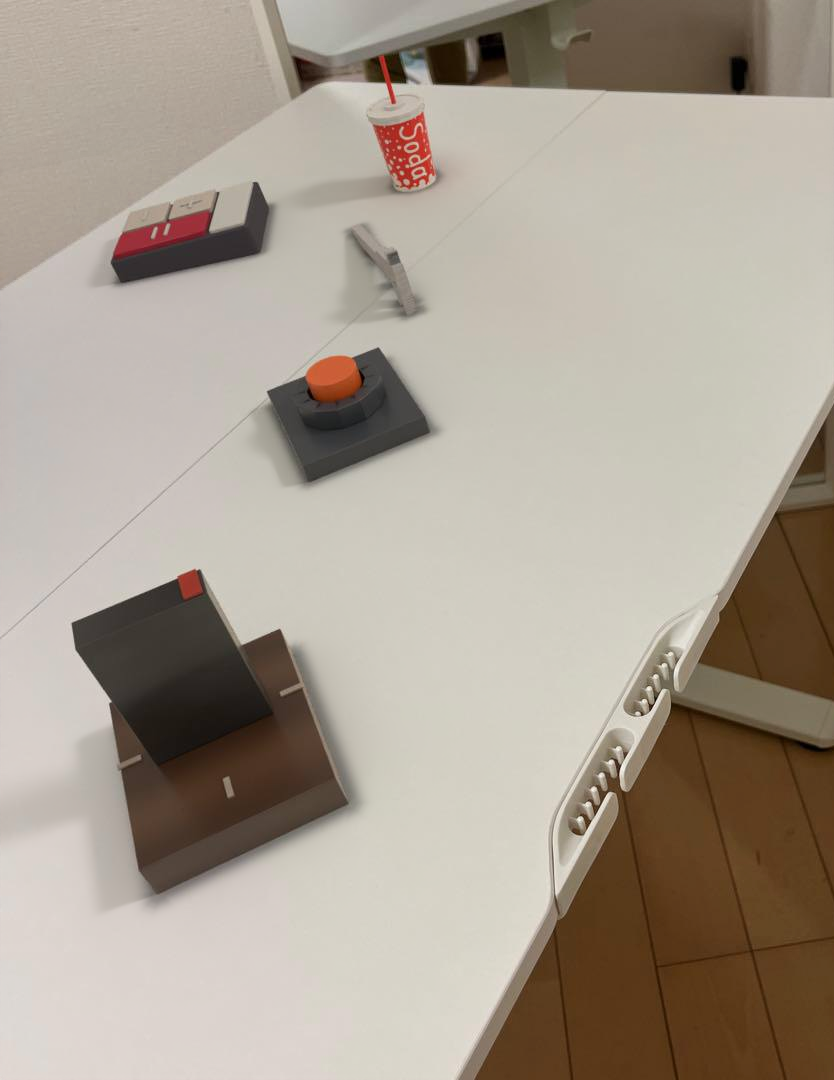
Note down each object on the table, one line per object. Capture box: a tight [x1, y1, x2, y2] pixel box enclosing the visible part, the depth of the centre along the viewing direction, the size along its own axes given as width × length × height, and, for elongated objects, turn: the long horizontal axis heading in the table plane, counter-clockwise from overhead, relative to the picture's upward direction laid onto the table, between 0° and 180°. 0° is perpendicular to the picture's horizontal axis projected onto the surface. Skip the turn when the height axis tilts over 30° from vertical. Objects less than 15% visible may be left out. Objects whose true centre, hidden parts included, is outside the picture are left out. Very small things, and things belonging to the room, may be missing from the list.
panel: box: [108, 628, 350, 895], centre depth 64 cm, size 13×11×3 cm
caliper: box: [351, 224, 418, 316], centre depth 105 cm, size 20×1×6 cm, turn 22°
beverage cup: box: [365, 54, 437, 193], centre depth 115 cm, size 6×6×14 cm
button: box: [305, 355, 362, 403], centre depth 86 cm, size 4×4×2 cm
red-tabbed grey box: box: [71, 568, 273, 765], centre depth 60 cm, size 7×2×10 cm, turn 114°
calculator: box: [110, 180, 270, 284], centre depth 117 cm, size 11×4×15 cm
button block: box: [266, 347, 431, 483], centre depth 88 cm, size 12×10×4 cm
